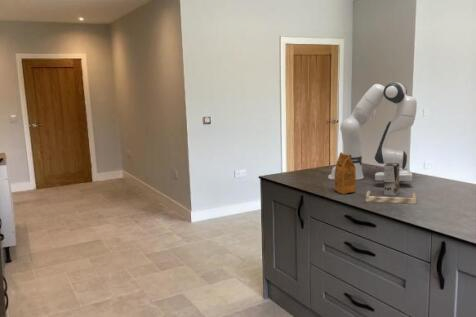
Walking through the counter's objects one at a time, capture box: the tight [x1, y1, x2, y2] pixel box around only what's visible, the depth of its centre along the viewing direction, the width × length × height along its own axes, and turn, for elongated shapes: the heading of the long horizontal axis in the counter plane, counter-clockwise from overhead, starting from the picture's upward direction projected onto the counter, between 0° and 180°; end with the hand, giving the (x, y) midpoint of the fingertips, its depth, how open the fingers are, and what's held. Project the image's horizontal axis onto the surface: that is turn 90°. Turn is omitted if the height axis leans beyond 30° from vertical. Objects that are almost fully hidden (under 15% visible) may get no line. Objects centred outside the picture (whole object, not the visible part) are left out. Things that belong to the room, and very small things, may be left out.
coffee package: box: [333, 151, 357, 195], centre depth 237 cm, size 10×12×22 cm
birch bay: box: [365, 190, 417, 205], centre depth 218 cm, size 24×13×2 cm, turn 68°
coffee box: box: [383, 163, 400, 196], centre depth 229 cm, size 9×6×16 cm
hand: (393, 179), depth 237 cm, fingers closed
